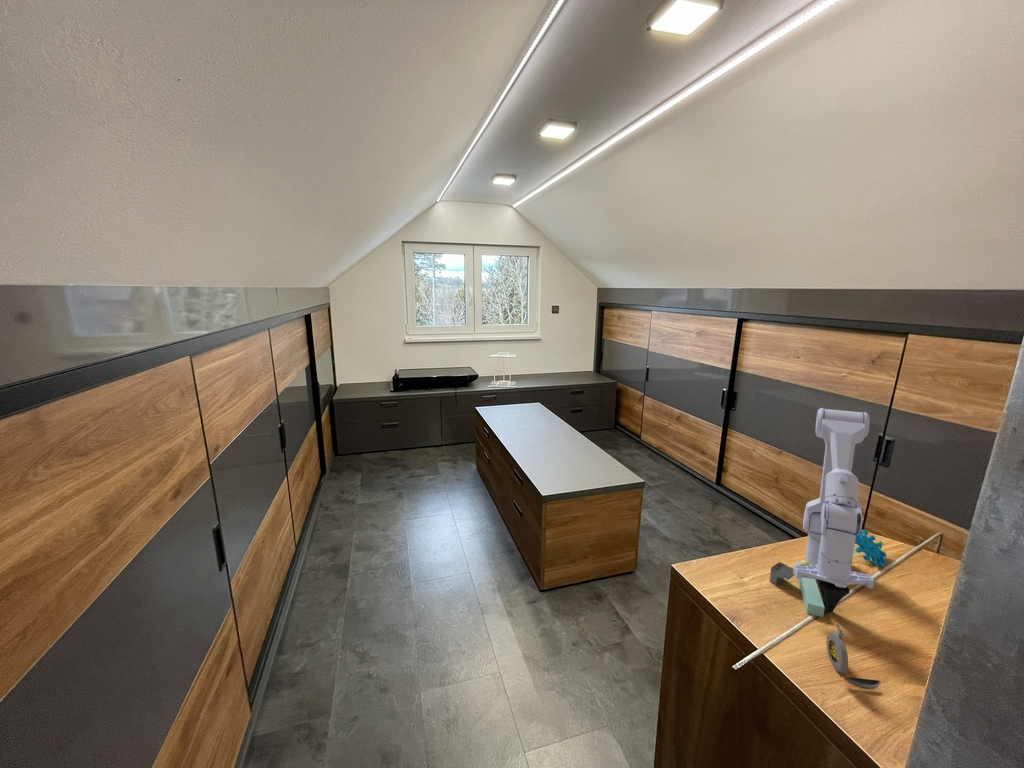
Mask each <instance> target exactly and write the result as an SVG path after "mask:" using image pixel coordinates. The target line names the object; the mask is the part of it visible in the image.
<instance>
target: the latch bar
mask: <svg viewBox="0 0 1024 768" xmlns="http://www.w3.org/2000/svg"><path fill="white" fill-rule="evenodd" d="M809 565H810V563H809V562H807V561H806V559H805V560H804V559H803V560H802V559H801V560H800V561H796V562H795V563H794V566H809ZM797 581H798V585H799V589H800V592H801V597H802V600H803V604H804V607H805V610H806V614H810V615H812V616H817V617H820V618H824V613H825V610H826V609H825V607H824V604H823V598H822V594H821V591H820V588H819V585H818V582H817V580H816V579H811V578H803V577H802V579H797Z"/></svg>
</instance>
